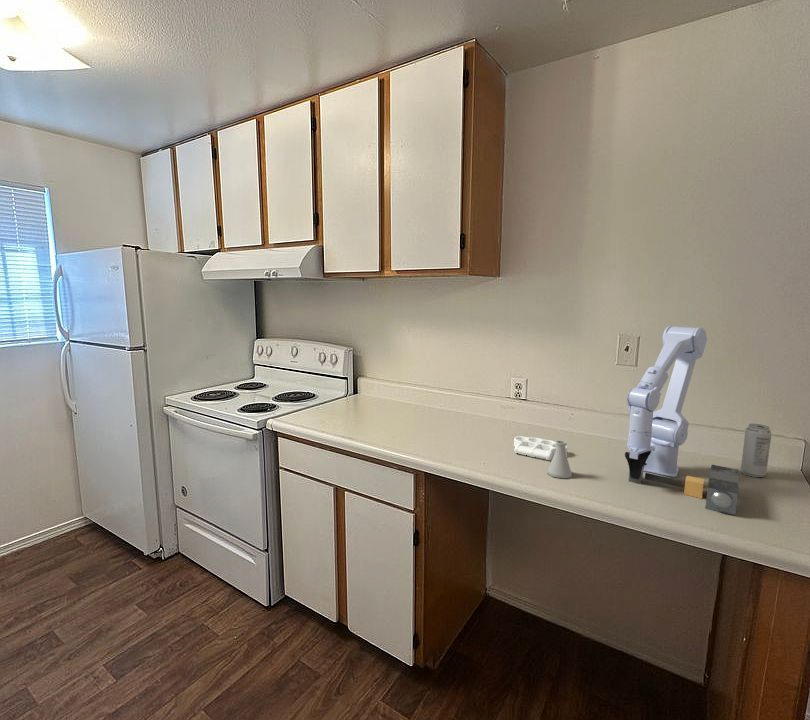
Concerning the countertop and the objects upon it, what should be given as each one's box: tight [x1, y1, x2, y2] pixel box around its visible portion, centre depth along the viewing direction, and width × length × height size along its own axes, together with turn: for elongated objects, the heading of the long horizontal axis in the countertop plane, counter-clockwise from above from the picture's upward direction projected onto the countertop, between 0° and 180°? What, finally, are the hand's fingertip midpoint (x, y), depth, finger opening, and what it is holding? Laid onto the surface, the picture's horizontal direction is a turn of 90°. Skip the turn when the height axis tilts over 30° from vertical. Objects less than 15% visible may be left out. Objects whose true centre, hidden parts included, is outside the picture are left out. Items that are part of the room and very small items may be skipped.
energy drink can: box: [740, 423, 772, 478], centre depth 131 cm, size 6×6×15 cm
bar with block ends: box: [628, 465, 708, 499], centre depth 122 cm, size 18×4×5 cm, turn 53°
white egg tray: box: [513, 435, 568, 461], centre depth 150 cm, size 3×18×15 cm
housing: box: [705, 464, 740, 516], centre depth 114 cm, size 6×17×6 cm, turn 143°
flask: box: [546, 439, 573, 479], centre depth 130 cm, size 7×7×10 cm
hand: (636, 475), depth 127 cm, fingers closed on bar with block ends, 3 cm apart
